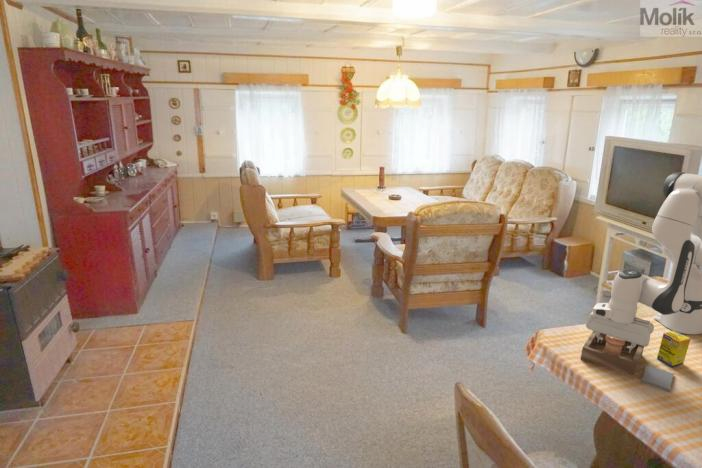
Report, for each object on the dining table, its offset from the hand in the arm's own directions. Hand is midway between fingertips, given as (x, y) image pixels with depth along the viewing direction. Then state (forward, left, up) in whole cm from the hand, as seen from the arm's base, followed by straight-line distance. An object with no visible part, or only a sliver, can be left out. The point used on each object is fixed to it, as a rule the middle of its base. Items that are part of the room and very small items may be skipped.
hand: (613, 346), depth 166 cm
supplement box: (-11, +17, -5) cm, 21 cm away
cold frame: (0, 0, -5) cm, 5 cm away
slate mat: (+4, +15, -5) cm, 16 cm away
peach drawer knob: (0, 0, -5) cm, 5 cm away
